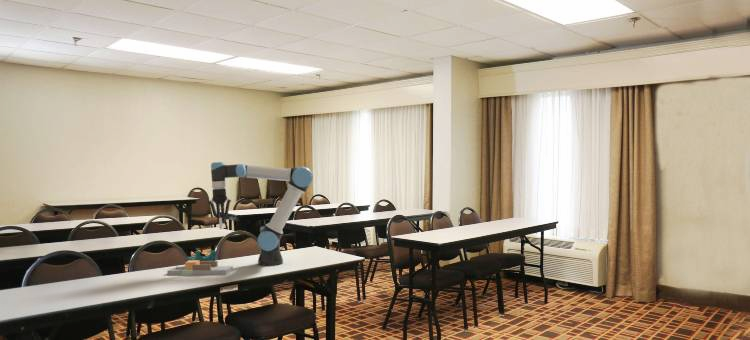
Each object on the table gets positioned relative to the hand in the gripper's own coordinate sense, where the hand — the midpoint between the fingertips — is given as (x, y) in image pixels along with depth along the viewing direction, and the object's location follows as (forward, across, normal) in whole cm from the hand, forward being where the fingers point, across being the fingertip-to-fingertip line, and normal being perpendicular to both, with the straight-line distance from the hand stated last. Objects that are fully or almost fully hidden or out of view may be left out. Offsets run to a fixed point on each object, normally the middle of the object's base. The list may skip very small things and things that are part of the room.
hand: (221, 228), depth 309 cm
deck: (+24, +10, +8) cm, 27 cm away
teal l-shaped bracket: (+24, +18, -10) cm, 31 cm away
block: (+21, +16, +8) cm, 27 cm away
